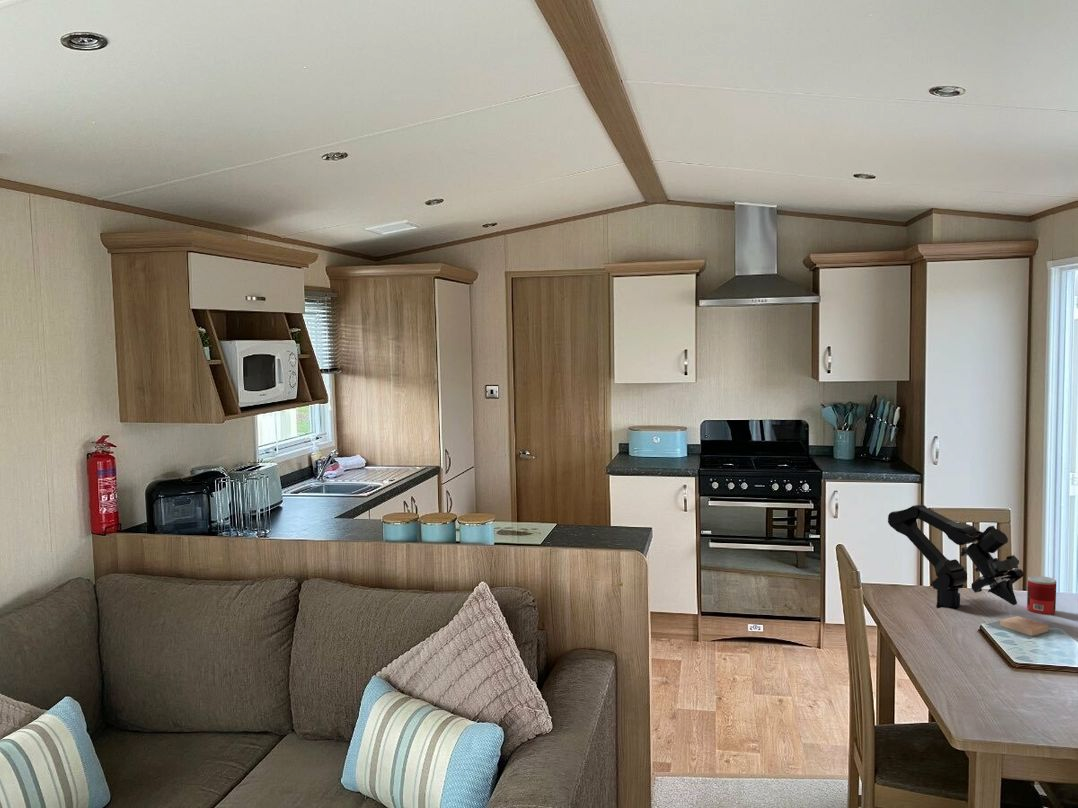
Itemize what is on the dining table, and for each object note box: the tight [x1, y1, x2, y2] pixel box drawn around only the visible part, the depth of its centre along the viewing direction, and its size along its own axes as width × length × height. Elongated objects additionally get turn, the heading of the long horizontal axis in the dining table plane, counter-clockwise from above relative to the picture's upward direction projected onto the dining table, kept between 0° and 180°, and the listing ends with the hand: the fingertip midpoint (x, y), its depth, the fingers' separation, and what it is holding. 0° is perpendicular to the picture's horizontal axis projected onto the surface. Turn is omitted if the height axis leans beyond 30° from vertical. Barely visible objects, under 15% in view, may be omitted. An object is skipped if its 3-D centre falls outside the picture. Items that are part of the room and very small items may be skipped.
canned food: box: [1026, 575, 1057, 616], centre depth 273 cm, size 8×8×11 cm
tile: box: [999, 615, 1050, 637], centre depth 257 cm, size 2×8×10 cm
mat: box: [985, 620, 1054, 639], centre depth 258 cm, size 14×12×1 cm
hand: (1015, 604), depth 259 cm, fingers closed
